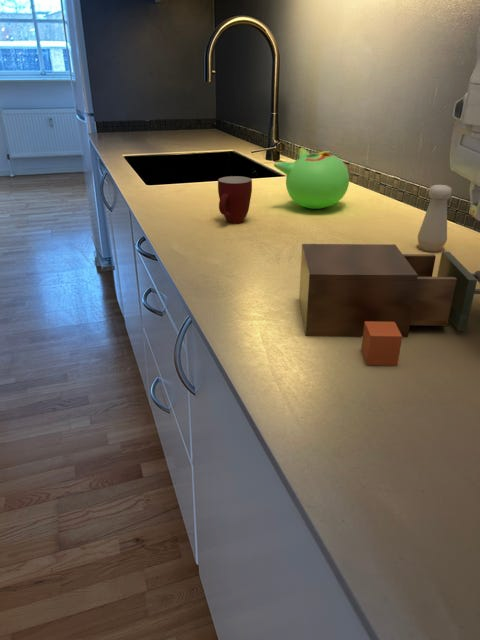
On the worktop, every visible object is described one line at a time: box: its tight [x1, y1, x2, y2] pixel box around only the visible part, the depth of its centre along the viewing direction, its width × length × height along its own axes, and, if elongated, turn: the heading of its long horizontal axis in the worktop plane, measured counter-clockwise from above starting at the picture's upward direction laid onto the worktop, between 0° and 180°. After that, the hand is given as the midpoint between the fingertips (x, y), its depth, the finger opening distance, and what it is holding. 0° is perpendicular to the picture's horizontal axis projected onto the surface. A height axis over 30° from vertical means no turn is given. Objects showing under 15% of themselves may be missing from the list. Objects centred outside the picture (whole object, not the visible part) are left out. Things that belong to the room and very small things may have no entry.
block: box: [360, 321, 403, 366], centre depth 67 cm, size 4×4×4 cm
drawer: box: [402, 251, 480, 331], centre depth 77 cm, size 18×11×8 cm, turn 88°
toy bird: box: [273, 147, 350, 210], centre depth 133 cm, size 18×17×15 cm
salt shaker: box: [417, 184, 453, 253], centre depth 104 cm, size 6×6×13 cm
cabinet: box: [298, 243, 418, 338], centre depth 77 cm, size 15×13×10 cm
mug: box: [217, 175, 253, 224], centre depth 122 cm, size 10×8×10 cm
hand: (478, 218), depth 70 cm, fingers closed
